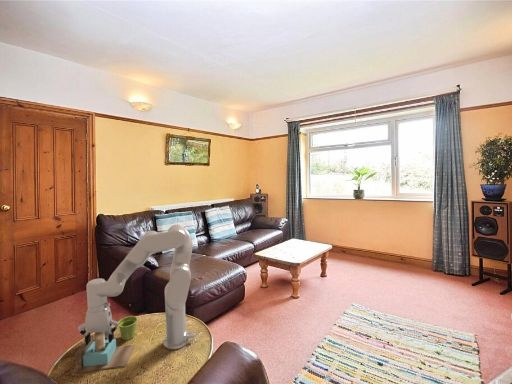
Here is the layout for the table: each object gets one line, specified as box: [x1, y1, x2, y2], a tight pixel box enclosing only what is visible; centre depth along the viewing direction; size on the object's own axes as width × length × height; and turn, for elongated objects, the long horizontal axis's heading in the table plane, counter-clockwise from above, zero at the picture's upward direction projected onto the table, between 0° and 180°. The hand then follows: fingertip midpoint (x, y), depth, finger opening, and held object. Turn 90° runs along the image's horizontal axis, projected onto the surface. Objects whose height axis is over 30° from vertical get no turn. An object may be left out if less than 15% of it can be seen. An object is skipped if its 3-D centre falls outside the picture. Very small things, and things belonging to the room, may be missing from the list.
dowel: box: [93, 331, 105, 352], centre depth 119 cm, size 4×4×12 cm
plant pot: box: [118, 315, 138, 341], centre depth 135 cm, size 9×9×9 cm
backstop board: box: [73, 335, 136, 374], centre depth 119 cm, size 21×14×8 cm, turn 99°
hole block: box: [83, 338, 117, 367], centre depth 119 cm, size 10×10×5 cm
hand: (99, 342), depth 119 cm, fingers open, 9 cm apart
